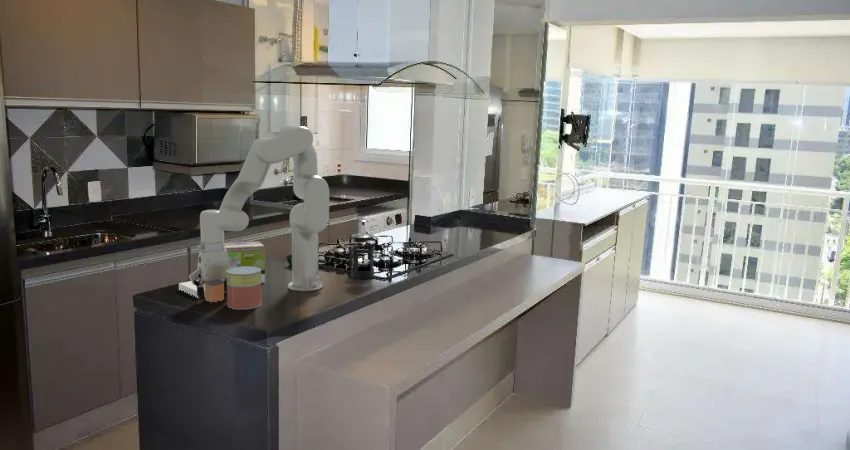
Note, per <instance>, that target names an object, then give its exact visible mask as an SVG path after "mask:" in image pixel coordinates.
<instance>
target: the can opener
mask: <svg viewBox="0 0 850 450" xmlns="http://www.w3.org/2000/svg"><path fill="white" fill-rule="evenodd" d="M286 260H287V263H288V265H289V266H290V267H292V253H290V254H288V255H287V256H286ZM327 262H328V261H327V260H324V259H321V258H318V270H325V269H327V267H326V266H325V264H327ZM319 263H320V264H319ZM323 264H324V265H323Z"/></svg>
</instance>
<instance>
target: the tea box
mask: <svg viewBox="0 0 850 450" xmlns="http://www.w3.org/2000/svg"><path fill="white" fill-rule="evenodd" d="M224 249H227V252H228V256H229V262H230V265H231V266H233V267H240V266H253V267H258V268H260V269H261V284H265V282H266V246H265V245H264V244H263V243H262V242H261V241H243V242H224ZM222 280H224V281H225V279H222Z"/></svg>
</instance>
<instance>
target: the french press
mask: <svg viewBox="0 0 850 450" xmlns="http://www.w3.org/2000/svg"><path fill="white" fill-rule="evenodd" d="M357 222H359V223H361V225H362V233H361V232H360V233H354V234H352V235H351V238H352V242H354V243H360V245H351V246H349V247H348V267H349V268H350V269H351V275H350V278H351V279H353V280H358V281H359V280H360V281H363V280H364V281H365V280H372V279H374V278H375V277H374V275H375V268H374V261H375V260H374V252H375V246H372V245H367V244H364V243H365V242H368V241H369V240H370V241H374V238H375V235H374V234H373V233H365V232H364V231H365V229H364V227H365V223H369V220H368V219H359V220H357ZM359 254H367V258H364V257H362V258H359ZM373 277H374V278H373Z"/></svg>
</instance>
